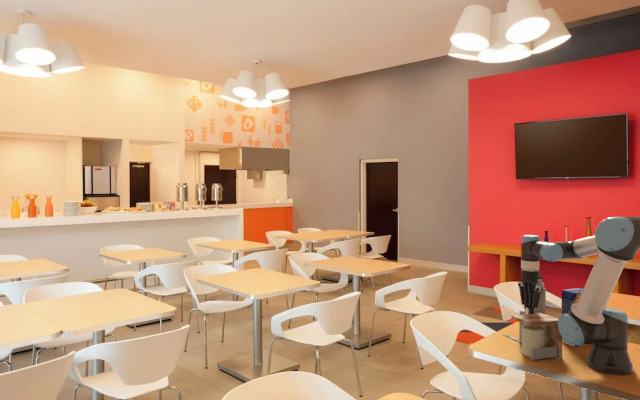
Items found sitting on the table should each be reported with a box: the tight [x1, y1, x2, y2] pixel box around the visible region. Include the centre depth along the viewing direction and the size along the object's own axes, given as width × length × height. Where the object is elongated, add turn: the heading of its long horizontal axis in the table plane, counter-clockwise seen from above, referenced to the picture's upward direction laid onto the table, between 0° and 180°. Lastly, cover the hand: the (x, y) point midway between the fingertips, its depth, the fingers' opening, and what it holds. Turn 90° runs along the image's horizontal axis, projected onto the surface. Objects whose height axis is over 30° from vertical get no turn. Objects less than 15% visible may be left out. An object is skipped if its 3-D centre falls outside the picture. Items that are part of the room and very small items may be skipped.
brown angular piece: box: [502, 313, 563, 360], centre depth 206 cm, size 34×16×16 cm, turn 17°
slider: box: [518, 310, 558, 361], centre depth 201 cm, size 21×13×14 cm, turn 17°
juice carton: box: [561, 287, 592, 348], centre depth 212 cm, size 12×8×24 cm, turn 110°
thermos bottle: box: [534, 275, 547, 314], centre depth 226 cm, size 8×8×28 cm
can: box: [520, 324, 545, 358], centre depth 198 cm, size 9×9×12 cm
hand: (529, 322), depth 208 cm, fingers closed
